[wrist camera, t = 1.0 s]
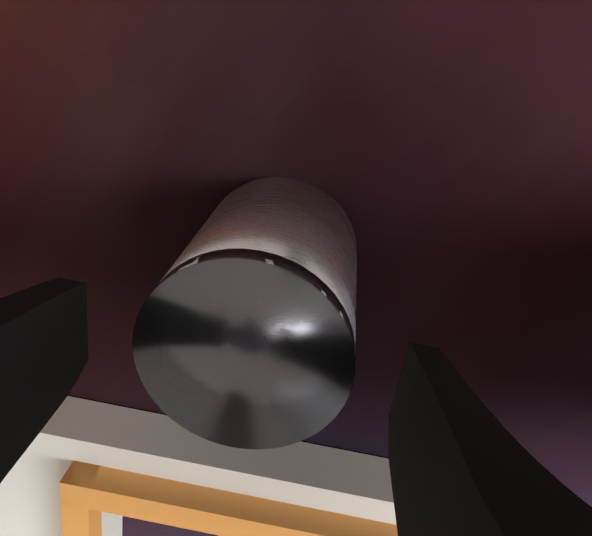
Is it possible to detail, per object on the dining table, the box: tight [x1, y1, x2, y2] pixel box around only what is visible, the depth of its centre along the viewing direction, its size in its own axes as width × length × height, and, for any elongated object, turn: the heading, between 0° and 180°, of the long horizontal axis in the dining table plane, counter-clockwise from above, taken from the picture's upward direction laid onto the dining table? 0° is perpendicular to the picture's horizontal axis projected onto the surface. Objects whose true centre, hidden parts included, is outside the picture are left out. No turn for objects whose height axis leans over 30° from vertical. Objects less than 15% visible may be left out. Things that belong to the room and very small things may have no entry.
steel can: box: [132, 177, 357, 450], centre depth 14 cm, size 5×5×6 cm
